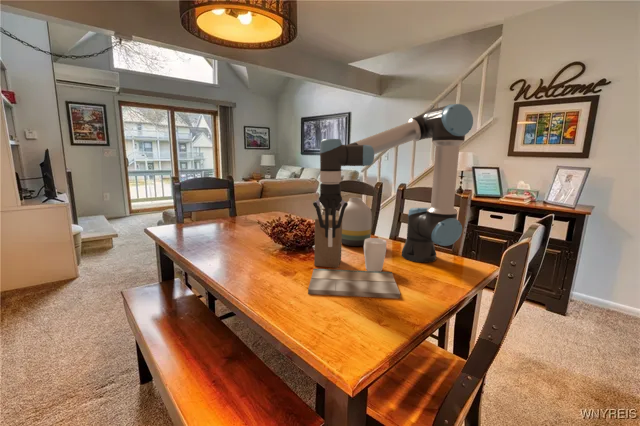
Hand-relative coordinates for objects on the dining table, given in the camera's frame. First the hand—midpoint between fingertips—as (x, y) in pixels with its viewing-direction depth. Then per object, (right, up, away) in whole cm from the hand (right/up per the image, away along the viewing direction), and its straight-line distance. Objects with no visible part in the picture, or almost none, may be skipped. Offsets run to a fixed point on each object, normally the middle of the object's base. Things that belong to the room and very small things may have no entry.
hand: (330, 245), depth 115 cm
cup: (+18, -11, +10) cm, 23 cm away
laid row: (+7, -14, -10) cm, 19 cm away
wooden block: (0, -9, +16) cm, 19 cm away
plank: (+8, -12, 0) cm, 15 cm away
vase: (+14, -4, +46) cm, 48 cm away
